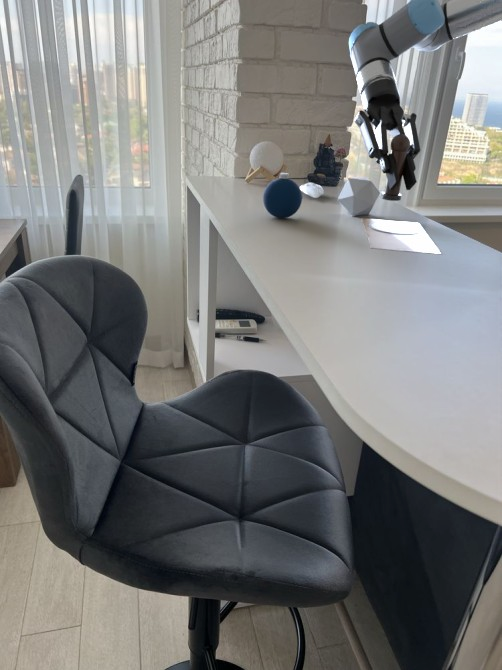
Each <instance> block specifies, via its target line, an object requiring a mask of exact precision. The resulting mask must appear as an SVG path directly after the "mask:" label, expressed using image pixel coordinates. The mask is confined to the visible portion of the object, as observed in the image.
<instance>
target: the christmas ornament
mask: <svg viewBox="0 0 502 670" xmlns="http://www.w3.org/2000/svg"><path fill="white" fill-rule="evenodd" d="M289 177H290V173H287V172H280V173H279V177H278V178H275V179H273V180H272V181H270V182H269V183H268V184H267V185H266V187H265V189H264V191H263V195H262V202H263V205H264V208H265V210H266V211H267V212H268V213H269V214H270V215H271V216H273V217H275V218H278V219H287V218H289V217H291V216H293V215H295V214H296V213H297V212H298V211H299V209H300V208H301V206H302V202H303V194H302V193H303V192H302V191H301V189H300V186H299V185H298V183H297V182H295V181H294V180H293V179H291V178H289Z"/></svg>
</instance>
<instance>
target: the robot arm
mask: <svg viewBox="0 0 502 670" xmlns="http://www.w3.org/2000/svg"><path fill="white" fill-rule="evenodd" d="M501 22H502V0H449V1H447V2H445V3H442V4H440V2H439V0H410V1H408V3H406V4H405V5H403V6H402V7H401V8H399V10H397V11H396V12H394V13H393V14H392V15H391V16H389V17H388V18H387V19H385V20H384V21H383V22H381V23H380V24H378V23H377V22H374V21H367V22H366V23H361V24H359V25H357V26H356V27H355V28H354V29H353V31H352V32H351V33H350V35H349V38H348V47H349V58H350V61H351V63H352V66H353V70H354V75H355V77H356V82H357V87H358V90H359V94H360V99H361V103H362V107H363V110H362V109H361V110H359V111H358V113H357V115H356V117H355V118H354V121H353V122H354V123H355V124H356V126H357V127H358V128H359V131H360V134H361V137H362V140H363V143H364V146H365V149H366V152H367V155H368V157H369V158H370V159H375V163H376V164H378V165H379V166H380V168H381V172H382V174H385V177H386V180H388V184H389V188H390V190H394V188H395V187H396V186H397V185H398V183H399V182H400V181H399V177H398V173H397V169H396V165H395V161H394V157H393V154H391V153H389V144H388V142H389V141H388V133H389V136H391V137H392V139H393V138H394V137H395V136H396V135H399V134H403V135H406V136H407V137H408V138H409V140H410V147H409V149H408V151H407V154H406V159H405V165H404V170H403V176H402V179H403V182H404V185H405V186H404V187H405V190H406V191H410V190H411V189H412V188H413V187H414V186H415V185H416V183H418V182H417V178H416V174H415V171H416V163H415V158H416V157H417V156H418V155H419V153H420V152H421V145H420V141H419V134H418V130H417V125H416V120H417V114H416V113H414V112H412V113H411V114H408V113H405V110H404V108H403V107H402V106H401V95H400V91H399V89H398V88H399V87H398V84H397V80H396V76H395V73H394V70H393V66H392V63H391V62H392V61H395V59H398V58H399V57H400V56H401V55H403V54H404V53H405V52H408V51H409V50H410V49H412V48H413V49H416V51H420V52H422V53H429V52H433V51H436V50H438V49H439V48H440V47H442V46H443V45H444V44H447V43H449V42H451V41H454V40H457V39H459V38H462V37H463V36H467V35H469V34H471V33H474V32H477V31H479V30H482V29H484V28H487V27H489V26H492V25H494V24H497V23H501ZM403 127H404V128H403Z"/></svg>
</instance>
